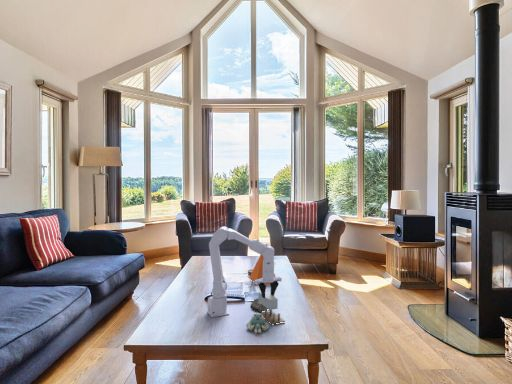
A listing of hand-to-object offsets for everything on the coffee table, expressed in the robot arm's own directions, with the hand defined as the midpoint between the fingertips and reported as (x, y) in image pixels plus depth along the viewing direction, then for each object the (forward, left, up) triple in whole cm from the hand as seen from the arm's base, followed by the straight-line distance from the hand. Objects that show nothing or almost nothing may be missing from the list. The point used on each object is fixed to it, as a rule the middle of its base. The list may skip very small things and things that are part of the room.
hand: (267, 296), depth 166 cm
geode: (+4, +12, -10) cm, 16 cm away
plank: (0, 0, -4) cm, 4 cm away
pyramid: (+23, +52, -10) cm, 58 cm away
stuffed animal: (-11, -12, -10) cm, 19 cm away
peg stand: (0, -5, -9) cm, 11 cm away
